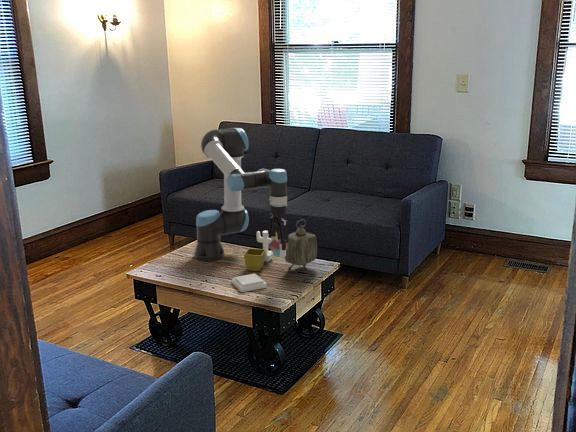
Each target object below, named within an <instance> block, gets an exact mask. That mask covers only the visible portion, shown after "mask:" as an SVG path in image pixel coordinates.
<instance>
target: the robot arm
mask: <svg viewBox="0 0 576 432" xmlns="http://www.w3.org/2000/svg"><path fill="white" fill-rule="evenodd" d="M200 148H201V152H202V153H203V155H204V156H205V157H206V158H207V159H210V160H212V162H213V163H214V164H215V166H217V167H218V169H219V170H220V171H221V172H222V173H223V196H224V197H223V198H224V200H223V202H224V204H223V205H222V206H221V211H219V210H217V209H209V210H203V211H202V212H199V213H198V214H197V215H196V219H195V220H196V222H195V226H196V227H195V228H196V239H197V240H196V241H197V243H196V246H195V250H194V255H193V256H194V258H195V260H197V261H200V262H215V261H220V260H221V259H223V258H224V257H225V250H224V247H223V245H222V242H221V236H224V235H231V234H238V233H240V232H244V231H246V230H247V228H248V226H249V220H250V219H249V212H248V210H247V209H245V206H244V205H242V191H247V190H256V189H261V188H267V189H268V190H269V198H268V200H269V204H270V205H269V224H268V225H269V226H268V235H269V234H270V238H271V242H272V241H273V240H276V232H277V236H278V235H279V239H280V241H281V242H280V257H279V258H285V256H286V243H288V242H289V239H288V235H289V228H288V222H289V221H288V220H286V219H285V215H286V214H287V213H288V205H287V204H288V175H287V173H288V172H287V171H286V169H284V168H273V169H268V168H260V169H258V170H257V171H248V172H246V171H244V170H243V168H242V158H244V156H245V152H247V150H249V138H248V135H247V133H246V131H245V130H244V129H243V128H241V127H228V128H219V129H211V130H209V131H208V132H206V133H205V134H204V136H203V137H202V139H201V142H200Z"/></svg>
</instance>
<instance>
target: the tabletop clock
mask: <svg viewBox="0 0 576 432" xmlns="http://www.w3.org/2000/svg"><path fill="white" fill-rule="evenodd" d="M301 221H302V222H304V225H302V224H300V225H299V226H298V224H299V223H300V222H301ZM306 225H307V221H306V219H304V218H301V219H299V220H297V221H296V223H295V227H296V230H295V231H294V232H292V233H288V239H289V242H288V248H287V249H286V256H285V257H284V260H285V262H286V263H289V264H291V265H290V267H289V266H288V268H287V271H289V272H290V271H292V268H293V267H294V266H299V267H301V266H303V267H302V270H303V271H306V270H307V267H305V266H306V265H307V264H310V263H312V262H313V261H315V260H316V259H317V255H318V239H317V236H316V235H315V233H314V234H313V233H311V232H307V231H306V229H305V228H304V227H306Z"/></svg>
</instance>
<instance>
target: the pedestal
mask: <svg viewBox="0 0 576 432" xmlns="http://www.w3.org/2000/svg"><path fill="white" fill-rule="evenodd" d="M231 283H232V284H233V286H235V288H237V290H239V291H240V293H246V292H250V291H256V290H260V289H265V288H267V287H268V286H267V285H268V283H267V282H266V281H265V280H263V279H262V278H261V277H260V276H259V275H257V273H250V274H245V275H239V276H234V277H233V278H231Z"/></svg>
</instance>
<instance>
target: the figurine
mask: <svg viewBox="0 0 576 432" xmlns="http://www.w3.org/2000/svg"><path fill="white" fill-rule="evenodd" d="M256 241H257V243H261V244H262V249H265V250H266V251H265V260H264V262H269V261H271V260H272V259H273V257H274V255H273V252H272V250H269V244H270V242H271V237H269V230H263V231H262V236H261V231H259V230H258V231H256Z"/></svg>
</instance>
